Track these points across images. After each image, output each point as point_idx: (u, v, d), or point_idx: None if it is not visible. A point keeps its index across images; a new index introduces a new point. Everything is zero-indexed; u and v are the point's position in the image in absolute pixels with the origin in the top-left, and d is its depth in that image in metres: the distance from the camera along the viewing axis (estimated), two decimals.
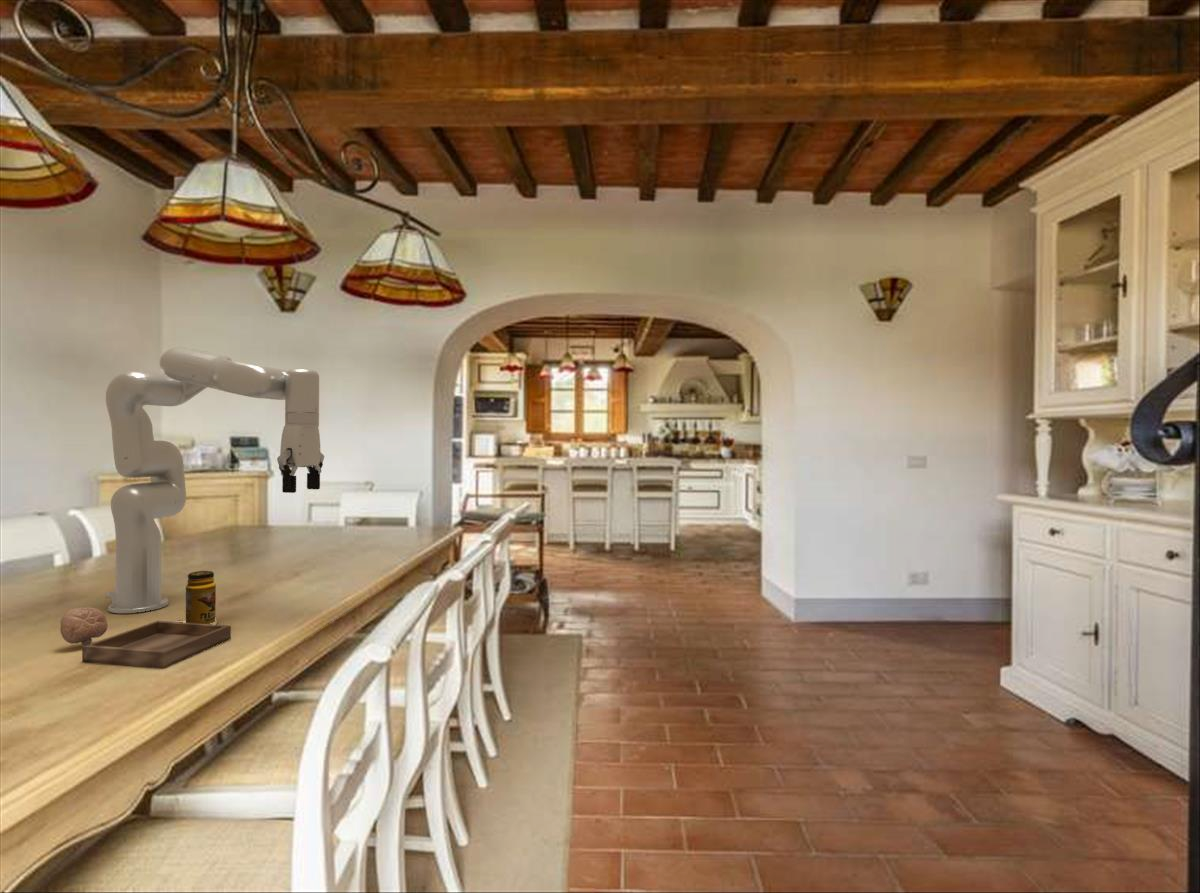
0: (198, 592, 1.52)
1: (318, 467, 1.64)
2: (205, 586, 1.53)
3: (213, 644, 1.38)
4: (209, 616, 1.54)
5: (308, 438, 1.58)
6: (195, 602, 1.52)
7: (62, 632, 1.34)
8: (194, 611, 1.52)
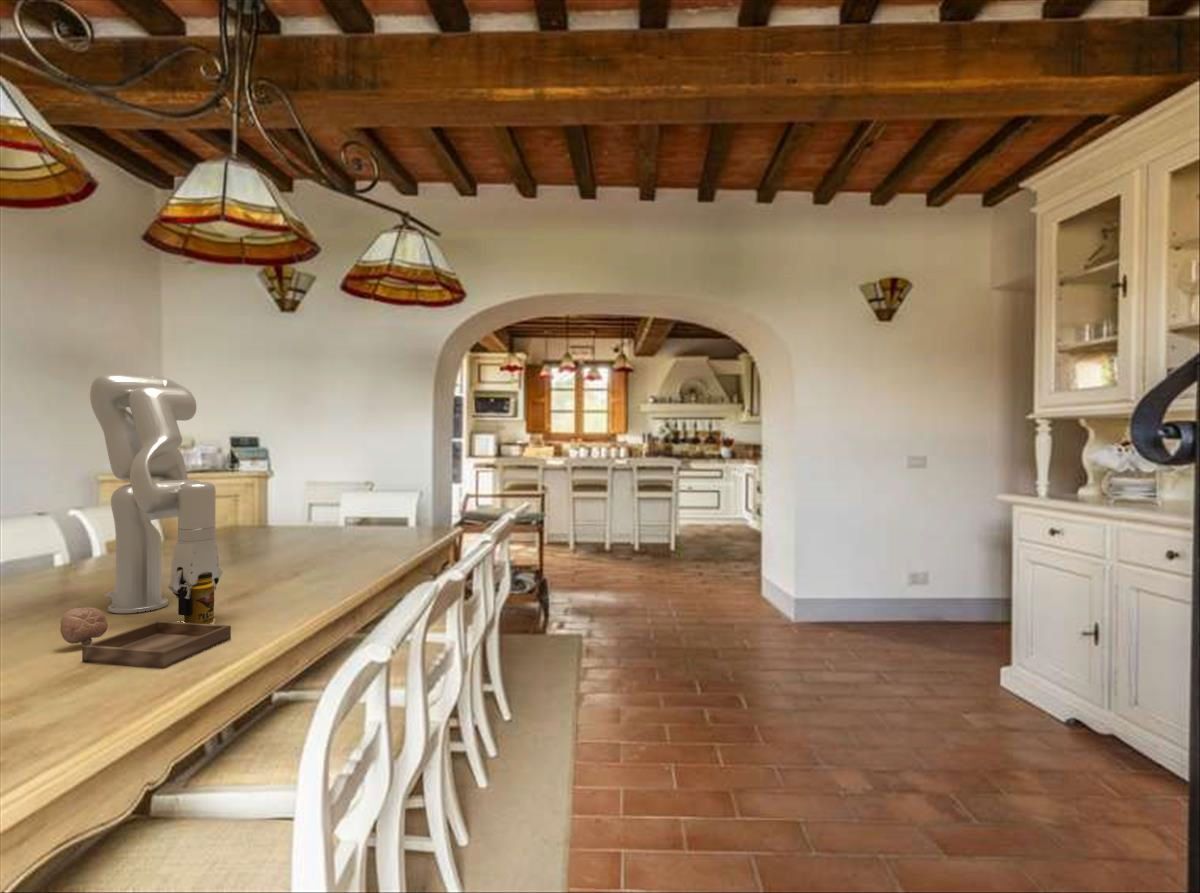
0: (196, 593, 1.51)
1: None
2: (203, 587, 1.52)
3: (213, 644, 1.38)
4: (207, 617, 1.53)
5: (202, 554, 1.53)
6: (194, 602, 1.51)
7: (62, 632, 1.34)
8: None
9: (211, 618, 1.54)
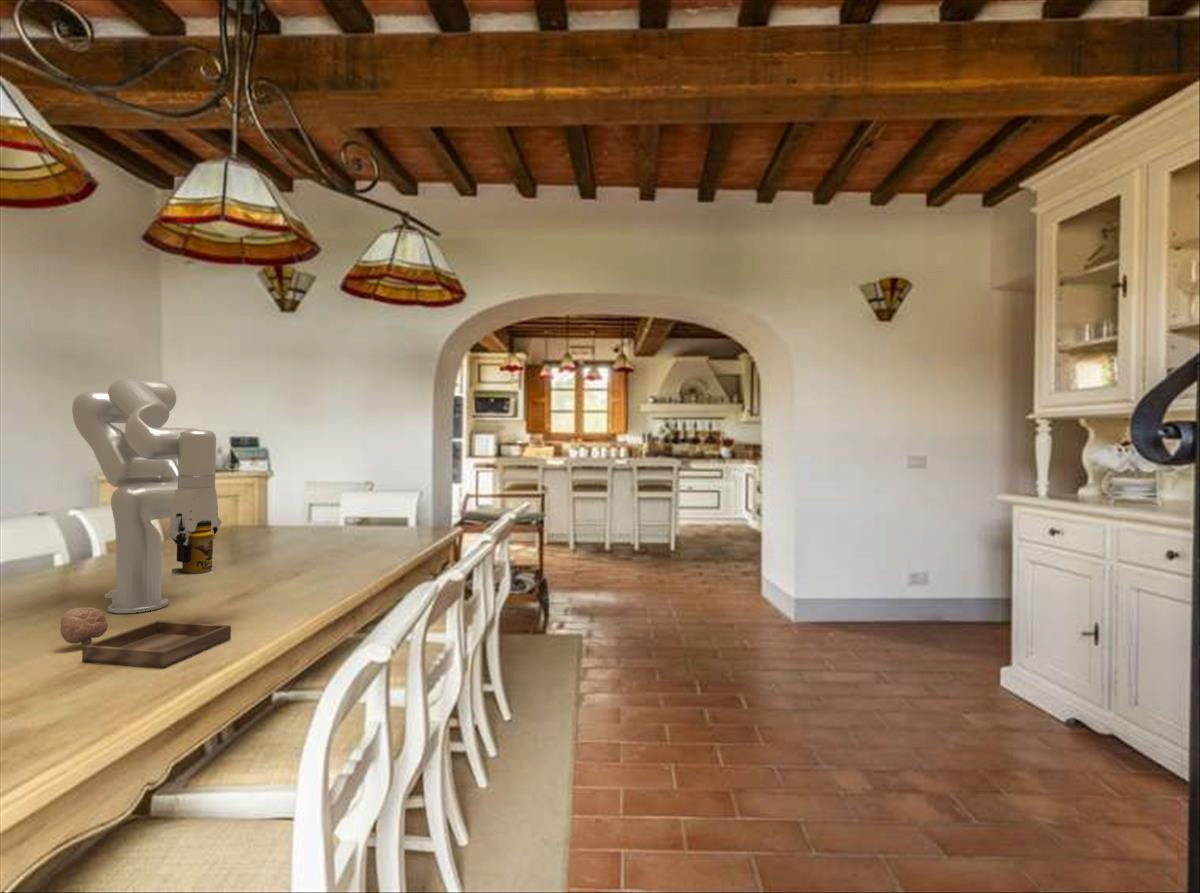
0: (195, 540, 1.51)
1: None
2: (202, 534, 1.52)
3: (213, 644, 1.38)
4: (206, 565, 1.53)
5: (201, 502, 1.52)
6: (192, 549, 1.51)
7: (62, 632, 1.34)
8: None
9: (209, 566, 1.54)
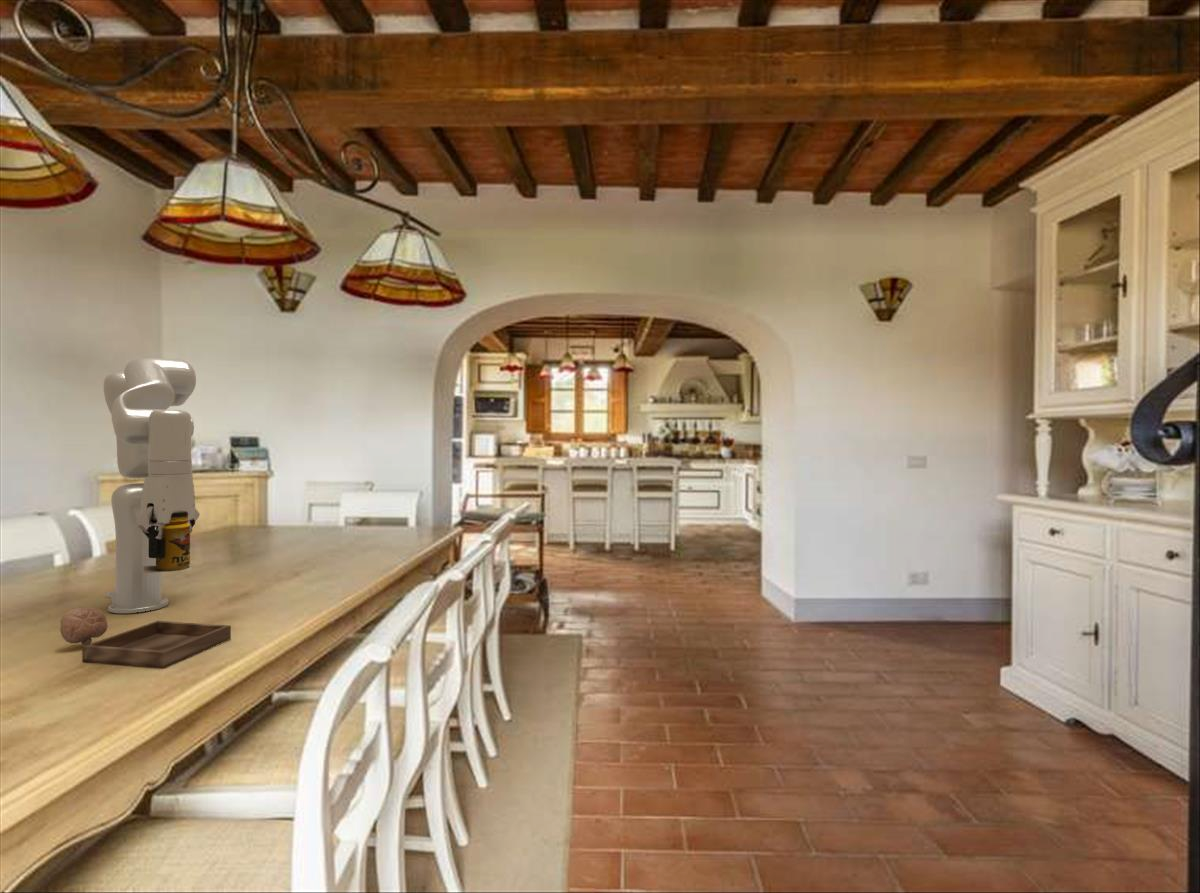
0: (169, 533, 1.35)
1: None
2: (177, 526, 1.36)
3: (213, 644, 1.38)
4: (182, 560, 1.36)
5: (175, 490, 1.36)
6: (167, 543, 1.35)
7: (62, 632, 1.34)
8: (165, 554, 1.35)
9: (187, 562, 1.38)
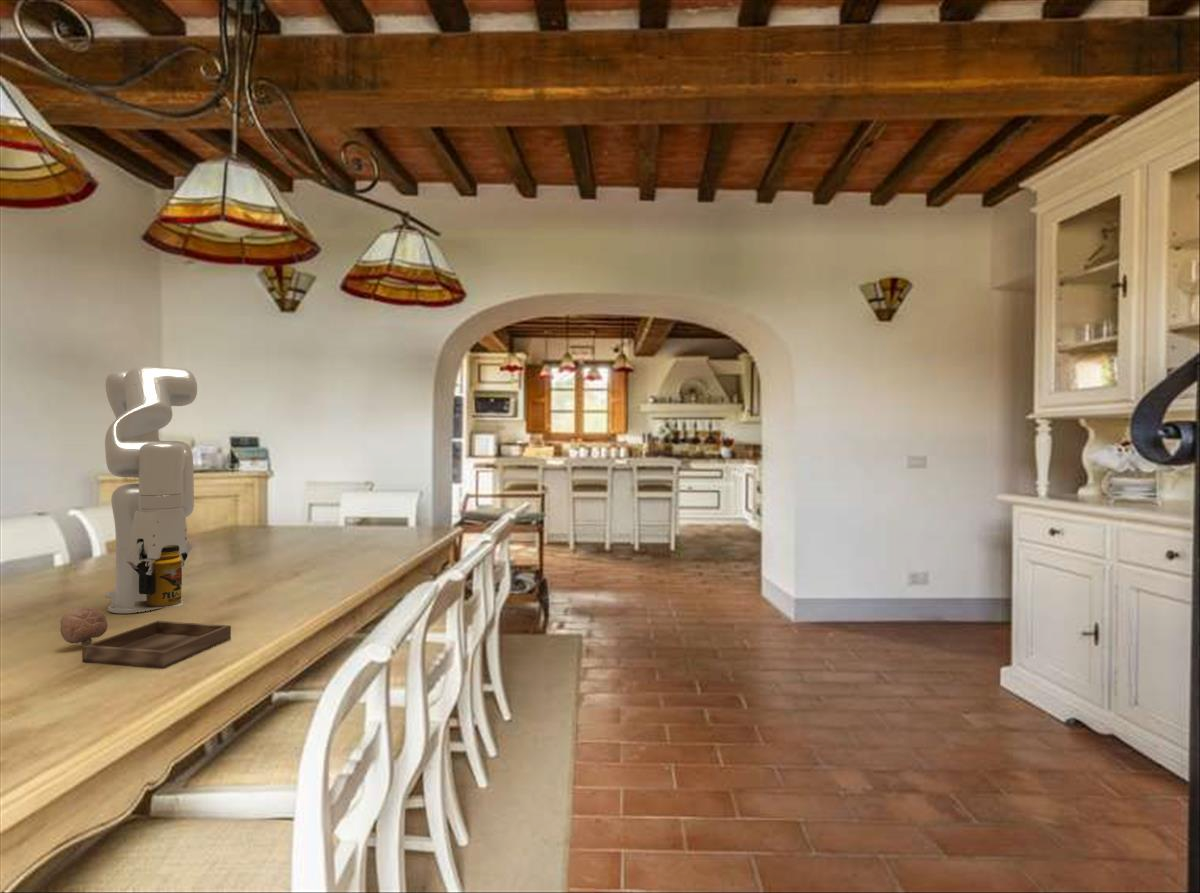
0: (160, 568, 1.32)
1: None
2: (168, 561, 1.33)
3: (213, 644, 1.38)
4: (173, 596, 1.34)
5: (166, 525, 1.34)
6: (157, 579, 1.32)
7: (62, 632, 1.34)
8: (155, 590, 1.32)
9: (178, 598, 1.35)
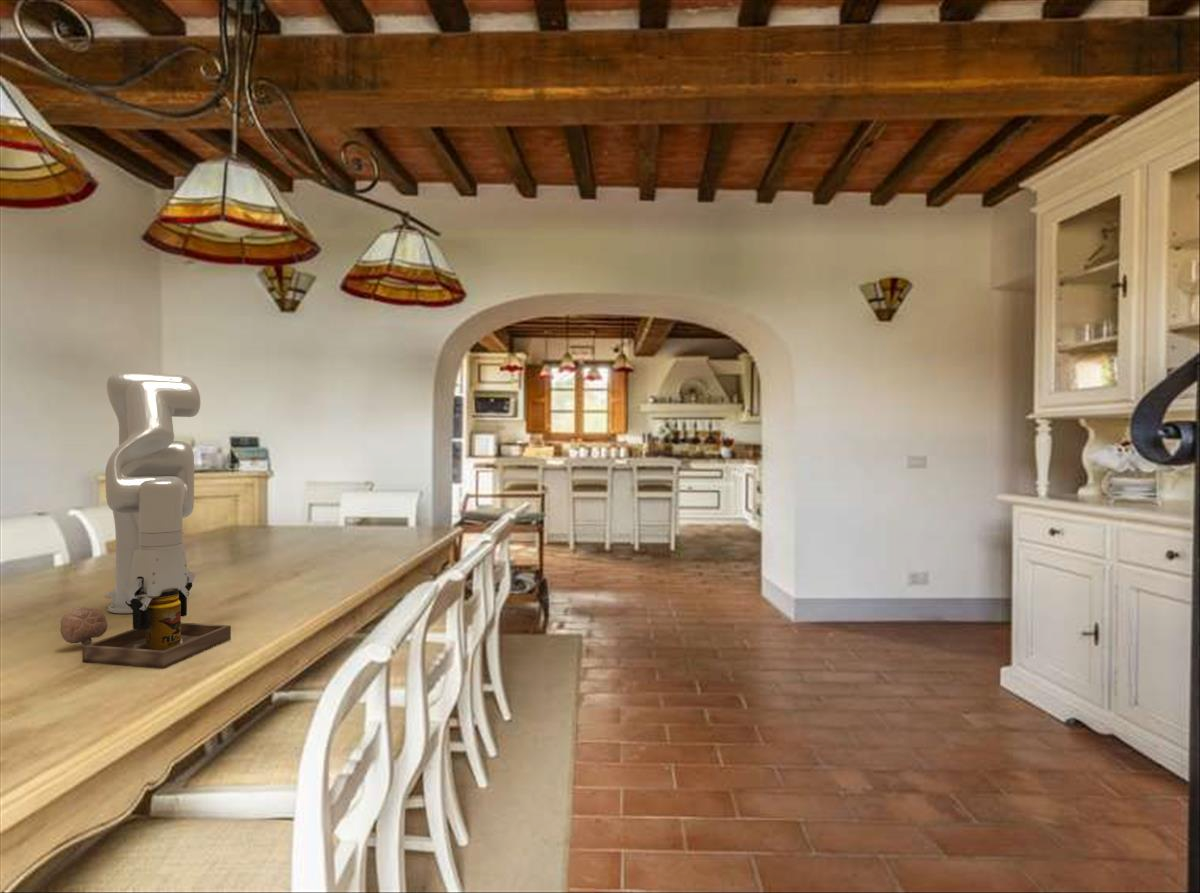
0: (159, 612, 1.33)
1: (184, 590, 1.40)
2: (168, 606, 1.34)
3: (213, 644, 1.38)
4: (173, 640, 1.34)
5: (166, 562, 1.34)
6: (157, 623, 1.33)
7: (62, 632, 1.34)
8: (155, 634, 1.33)
9: (177, 641, 1.36)
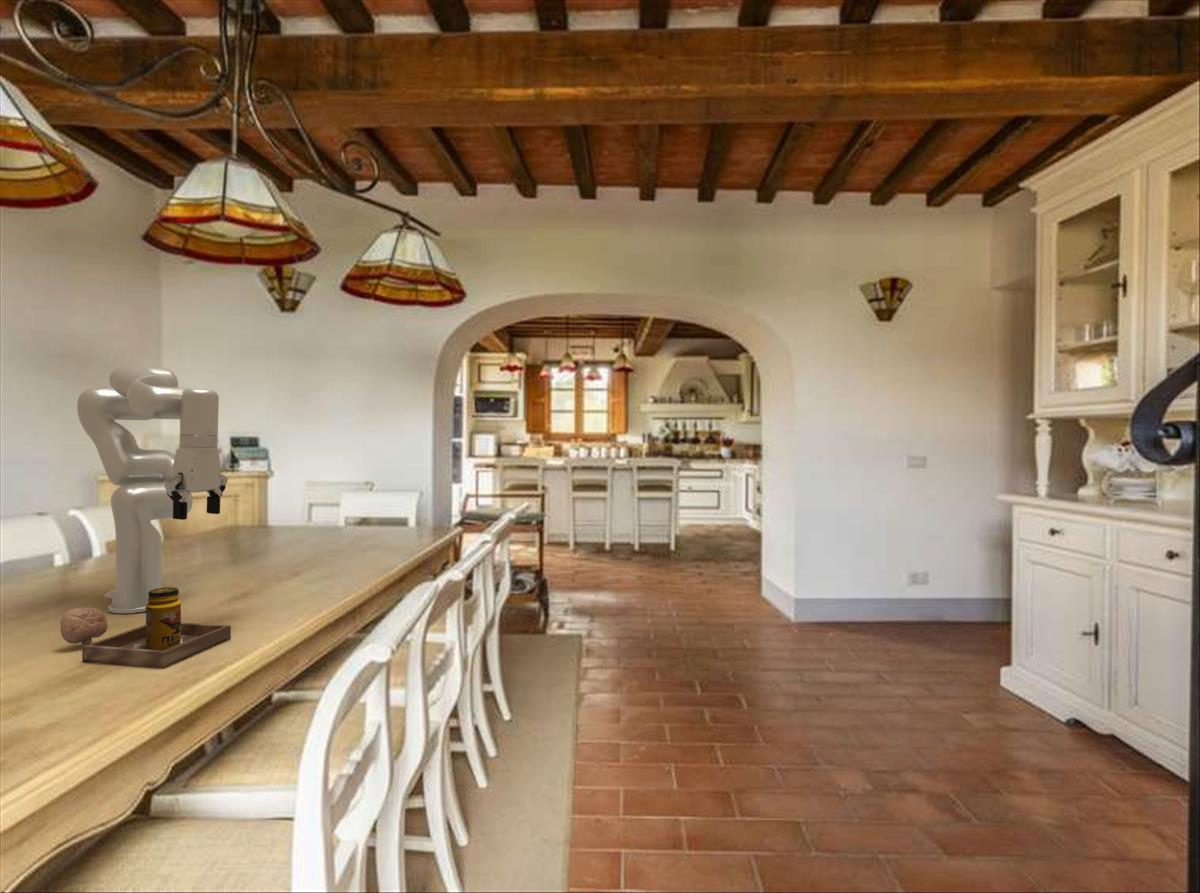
0: (159, 612, 1.33)
1: (218, 491, 1.57)
2: (168, 606, 1.34)
3: (213, 644, 1.38)
4: (173, 640, 1.34)
5: (203, 462, 1.50)
6: (157, 623, 1.33)
7: (62, 632, 1.34)
8: (155, 634, 1.33)
9: (177, 641, 1.36)
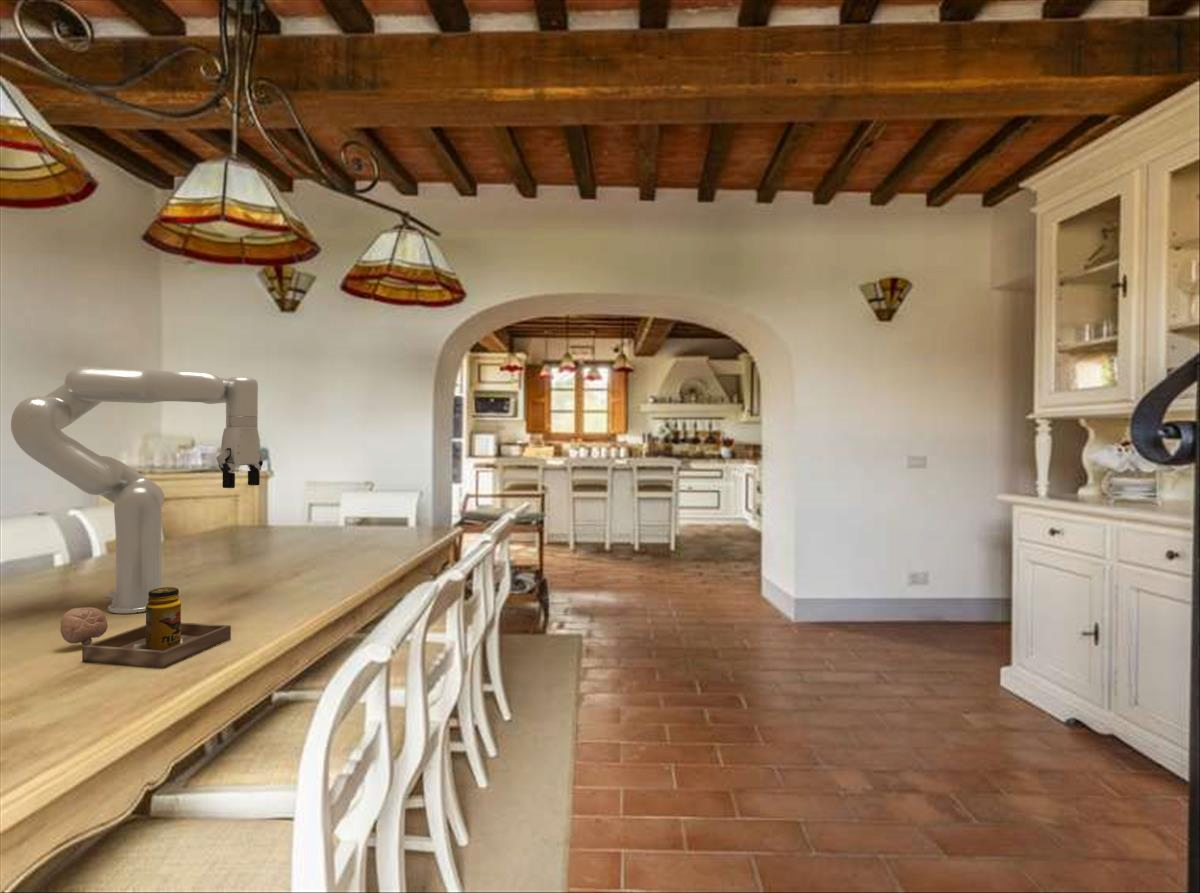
0: (159, 612, 1.33)
1: (258, 465, 1.82)
2: (168, 606, 1.34)
3: (213, 644, 1.38)
4: (173, 640, 1.34)
5: (246, 439, 1.76)
6: (157, 623, 1.33)
7: (62, 632, 1.34)
8: (155, 634, 1.33)
9: (177, 641, 1.36)
